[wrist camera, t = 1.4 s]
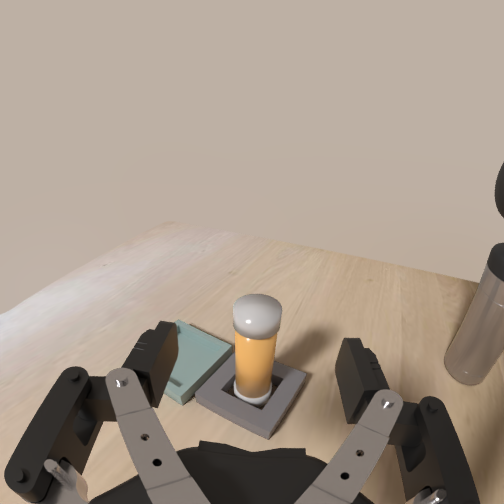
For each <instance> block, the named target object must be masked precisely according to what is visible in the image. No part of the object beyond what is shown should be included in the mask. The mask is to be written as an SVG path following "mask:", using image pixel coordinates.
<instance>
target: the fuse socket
mask: <svg viewBox="0 0 504 504" xmlns="http://www.w3.org/2000/svg"><path fill="white" fill-rule="evenodd" d="M306 375H307V373H304V372H302V371H299V370H296V369H294V368H291V367H289V366H286V365H284V364H281V363H279V362H276V361H274V363H273V371H272V378H271V382H272V384H274V385H276V386H279V387H278V388H277V390H276V391H275V393H274V394H273V395H272V397H271V398H270V400H269V401H268V402H267V404H266V405H265V407H264V408H263V409H262V410H260V409H258V408H256V407H254V406H252V405H250V404H248V403H245V402H243V401H241V400H239V399H237V398H235V397H233V396H231V395H229V394H228V393H227V392H228V391H229V390H230V388H231V387H232V386H233V385H234V381H235V352H234V353H233V354H232V355H231V356H230V357H229V358H228V359H227V360H226V361H225V362H224V364H223V365H222V366H221V367H220V368H219V369H218V370H217V371H216V372H215V373H214V374H213V375H212V376H211V377H210V378H209V379H208V380H207V381H206V382H205V383H204V384H203V385H202V386H201V387H200V388H199V389H198V390H197V391H196V392H195V397H196V402H197V403H199V404H201V405H202V406H204V407H206V408H208V409H209V410H211V411H213V412H215V413H217V414H218V415H220V416H222V417H224V418H226V419H228V420H229V421H231V422H233V423H235V424H237V425H239V426H241V427H243V428H245V429H247V430H249V431H251V432H253V433H255V434H257V435H259V436H262V437H264V438H266V439H268V440H269V438H270V437H271V435H272V434H273V432H274V431H275V429H276V428H277V426H278V425H279V423H280V422H281V420H282V418H283V417H284V415H285V414H286V412H287V411H288V409H289V407H290V406H291V404H292V403H293V401H294V399H295V398H296V396H297V394H298V393H299V391H300V389H301V388H302V386H303V384H304V382H305V378H306Z"/></svg>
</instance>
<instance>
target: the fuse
mask: <svg viewBox="0 0 504 504" xmlns="http://www.w3.org/2000/svg"><path fill="white" fill-rule="evenodd" d="M281 315H282V306H281V304H280V303H279V301H277V300H276V299H275V298H273V297H271V296H268V295H264V294H249V295H245V296H242V297H240V298H239V299H237V300H236V301H235V303H234V305H233V326H234V329H235V381H234V397H235V398H237V399H239V400H241V401H243V402H245V403H248V404H250V405H252V406H254V407H256V408H259V407H262V406H264V405H265V404H266V403H267V402H268V401H269V400H270V396H271V390H272V382H271V378H272V371H273V363H274V355H275V347H276V339H277V332H278V331H279V329H280V323H281Z"/></svg>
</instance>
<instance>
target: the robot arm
mask: <svg viewBox="0 0 504 504" xmlns="http://www.w3.org/2000/svg"><path fill="white" fill-rule="evenodd" d="M495 202H496V206H497V208H498V211H499V212H500V214H501V216H502V217H503V218H504V163H503V165H502V166H501V169H500V171H499V174H498V177H497V180H496V185H495ZM503 350H504V243H499V244H496V245H495V246H494V247H493V248H492V250H491V252H490V255H489V258H488V261H487V264H486V267H485V270H484V273H483V275H482V278H481V281H480V283H479V286H478V288H477V291H476V293H475V295H474V298H473V300H472V302H471V305H470V307H469V309H468V311H467V313H466V316H465V318H464V320H463V322H462V324H461V326H460V328H459V330H458V332H457V334H456V336H455V338H454V339H453V341H452V343H451V345H450V347H449V349H448V350H447V352H446V354H445V357H444V362H445V366H446V368H447V370H448V372H449V373H450V374H451V375H452V376H453V377H454V378H455V379H456V380H457V381H459V382H461V383H463V384H466V385H477V384H479V383H481V382H482V381H483V380H484V379H485V377H486V376H487V374H488V373H489V371H490V370H491V369H492V367H493V366H494V364H495V363H496V361H497V360H498V358H499V357H500V355H501V353H502V352H503ZM178 352H179V347H178V336H177V325H176V323H172V322H166V321H160V322H159V324H158V325H157V327H156V329H155V330H152V329H149V330H147V331H146V332H144V333H143V334H142V335H141V336H140V338H139V339H138V341H137V343H136V344H135V346H134V348H133V349H132V351H131V352H130V354H129V356H128V357H127V359H126V361H125V362H124V364H123V366H122V367H121V368H117V369H114V370H112V371H110V372H109V373H108V374H107V376H104V377H98V376H89V375H88V373H87V371H86V370H85V369H84V368H81V367H76V366H75V367H70V368H67V369H66V370H64V371H63V372H62V373H61V375H60V376H59V378H58V379H57V381H56V382H55V384H54V385H53V387H52V388H51V390H50V392H49V393H48V395H47V396H46V398H45V399H44V401H43V403H42V404H41V406H40V407H39V409H38V411H37V412H36V414H35V416H34V417H33V419H32V421H31V422H30V424H29V426H28V427H27V429H26V431H25V433H24V434H23V436H22V438H21V440H20V442H19V443H18V445H17V447H16V449H15V451H14V453H13V455H12V457H11V458H10V460H9V462H8V464H7V466H6V468H5V472H4V477H5V481H6V483H7V485H8V486H9V487H10V488H11V489H12V490H13V491H14V492H15V493H17V494H18V495H19V496H21V497H22V499H24V500H25V501H26V502H28V503H29V504H374V503H373V502H372V501H370V500H369V499H368V498H367V497H365V496H364V495H363V494H362V493H361V492H359V491H360V490H361V488H362V487H363V485H364V484H365V482H366V480H367V479H368V477H369V475H370V474H371V472H372V470H373V469H374V467H375V465H376V463H377V462H378V460H379V458H380V456H381V454H382V452H383V450H384V449H385V447H386V445H387V444H391V445H395V448H396V452H397V457H398V461H399V466H400V471H401V475H402V480H403V486H404V491H405V496H406V503H405V504H480V501H479V497H478V494H477V490H476V487H475V484H474V481H473V477H472V474H471V471H470V468H469V465H468V463H467V460H466V457H465V454H464V451H463V449H462V446H461V444H460V441H459V438H458V436H457V433H456V431H455V428H454V426H453V424H452V421H451V419H450V417H449V414H448V412H447V410H446V407H445V405H444V403H443V402H442V401H441V400H439V399H438V398H436V397H432V396H428V397H424V398H423V399H422V400H421V401H420V403H419V404H417V403H410V402H404V401H403V400H402V398H401V396H400V395H399V394H398V393H396V392H394V391H392V390H390V388H389V386H388V384H387V381H386V379H385V376H384V374H383V372H382V370H381V367H380V365H379V364H378V360H377V358H376V355H375V354H374V353H373V352H372V351H371V350H370V349H369V348H364V347H363V344H362V342H361V340H360V338H344V339H343V342H342V345H341V348H340V351H339V354H338V357H337V360H336V365H335V373H336V377H337V382H338V386H339V390H340V394H341V399H342V403H343V407H344V412H345V416H346V421H347V424H356V425H355V427H354V428H353V430H352V431H351V433H350V434H349V436H348V437H347V439H346V440H345V441H344V443H343V444H342V446H341V447H340V449H339V450H338V451H337V453H336V454H335V455H334V457H333V458H332V459H331V461H330V462H329V463H328V464H327V463H325V462H324V461H322V460H320V459H317V458H315V457H312V456H308V455H306V450H305V448H278V449H272V450H265V451H259V452H250V451H246V450H243V449H240V448H236V447H233V446H230V445H227V444H221V443H214V442H207V441H201V440H200V442H199V446H198V447H191V448H186V449H182V450H179V451H175V449H174V448H173V446H172V444H171V442H170V440H169V439H168V437H167V435H166V433H165V431H164V429H163V427H162V425H161V423H160V421H159V419H158V417H157V415H156V413H155V411H154V409H153V408H152V407H155V408H158V406H159V403H160V401H161V398H162V396H163V393H164V391H165V388H166V386H167V383H168V381H169V378H170V376H171V373H172V371H173V368H174V366H175V363H176V361H177V358H178ZM150 406H151V407H150ZM104 421H112V422H118V425H119V428H120V431H121V433H122V436H123V439H124V441H125V444H126V446H127V449H128V451H129V454H130V456H131V458H132V461H133V463H134V465H135V467H136V470H137V472H138V475H136V476H134V477H133V478H131V479H129V480H127V481H126V482H124V483H122V484H120V485H118V486H116V487H115V488H113V489H111V490H109V491H107V492H105V493H103V494H101V495H99V496H97V497H95V498H94V499H92V500H91V501H90V502H89V501H88V498H87V492H88V486H87V483H86V481H85V479H84V478H83V477H82V473H83V471H84V468H85V465H86V463H87V460H88V458H89V455H90V453H91V450H92V448H93V445H94V443H95V440H96V438H97V436H98V433H99V431H100V429H101V426H102V424H103V422H104Z"/></svg>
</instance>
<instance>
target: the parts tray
mask: <svg viewBox="0 0 504 504" xmlns="http://www.w3.org/2000/svg"><path fill="white" fill-rule="evenodd" d="M174 323H176V325H177V336H178V347H179V352H178V358H177V361H176V363H175V366H174V368H173V371H172V373H171V376H170V378H169V381H168V383H167V386H166V388H165V391H164V394H166V395H167V396H169V397H170V398H172V399H173V400H175V401H176V402H178V403H179V404H181V405H184V404H185V403H186V402H187V401H188V400H189V399H190V398H191V397H192V396H193V395H194V394H195V392H196V391H197V390H198V389H199V388H200V387H201V386H202V385H203V384H204V383H205V382H206V381H207V380H208V379H209V378H210V377H211V376H212V375H213V374H214V373H215V372H216V371H217V370H218V369H219V368H220V367H221V366H222V365H223V364H224V362H225V361H226V360H227V359H228V358H229V357H230V356H231V355H232V345H230V344H228V343H226V342H223V341H221V340H219V339H217V338H215V337H213V336H211V335H209V334H207V333H205V332H202V331H200V330H198V329H196V328H194V327H192V326H190V325H188V324H186V323H185V322H183V321H181V320H179V319H178V320H177V321H176V322H174ZM126 359H127V358H126Z"/></svg>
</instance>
